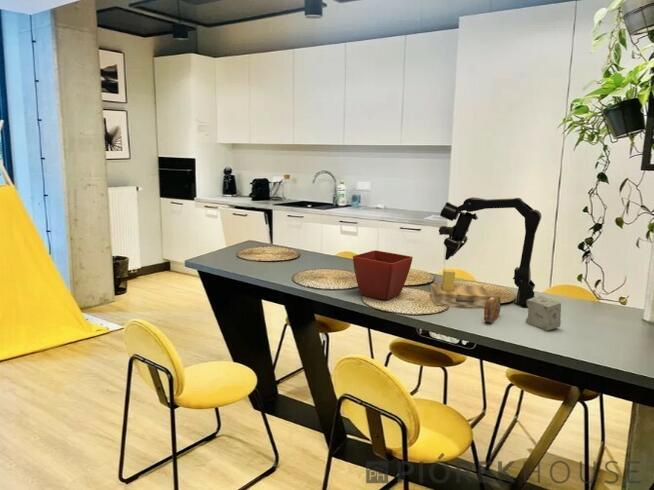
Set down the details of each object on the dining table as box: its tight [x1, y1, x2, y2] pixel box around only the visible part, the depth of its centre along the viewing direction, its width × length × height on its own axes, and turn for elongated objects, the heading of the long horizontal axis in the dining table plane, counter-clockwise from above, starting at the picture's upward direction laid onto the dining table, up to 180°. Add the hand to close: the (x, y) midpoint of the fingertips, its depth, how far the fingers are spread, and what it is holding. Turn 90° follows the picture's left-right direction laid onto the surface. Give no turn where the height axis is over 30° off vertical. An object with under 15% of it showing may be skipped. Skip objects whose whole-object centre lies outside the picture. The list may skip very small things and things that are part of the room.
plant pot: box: [352, 250, 413, 301], centre depth 220 cm, size 19×19×17 cm
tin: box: [483, 295, 502, 324], centre depth 196 cm, size 15×3×8 cm, turn 148°
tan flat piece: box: [429, 283, 493, 309], centre depth 216 cm, size 22×16×5 cm
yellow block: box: [441, 268, 456, 291], centre depth 216 cm, size 4×4×12 cm
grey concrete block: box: [525, 295, 562, 332], centre depth 191 cm, size 10×8×10 cm
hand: (448, 257), depth 228 cm, fingers open, 9 cm apart
